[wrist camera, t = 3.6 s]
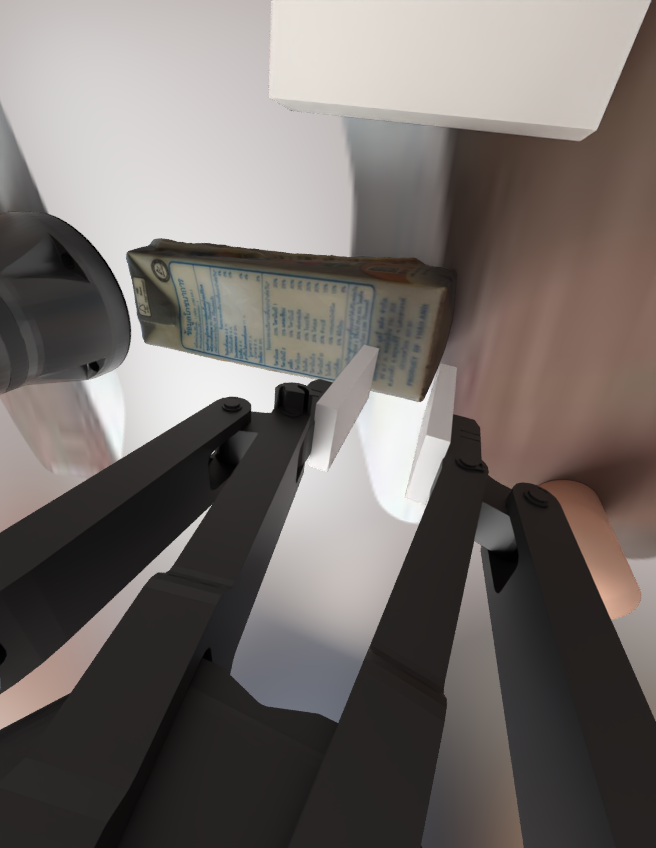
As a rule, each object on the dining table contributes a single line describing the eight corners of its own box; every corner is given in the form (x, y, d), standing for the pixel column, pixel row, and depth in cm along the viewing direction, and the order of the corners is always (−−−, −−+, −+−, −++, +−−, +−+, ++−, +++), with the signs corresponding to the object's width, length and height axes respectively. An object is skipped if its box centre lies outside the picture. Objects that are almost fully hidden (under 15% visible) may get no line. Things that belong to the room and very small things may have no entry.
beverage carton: (211, 318, 30) (202, 230, 27) (441, 362, 25) (467, 261, 22) (139, 347, 24) (115, 236, 20) (428, 413, 19) (462, 282, 15)
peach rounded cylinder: (515, 516, 30) (527, 600, 24) (542, 471, 27) (564, 552, 21) (579, 537, 29) (611, 631, 22) (614, 492, 26) (661, 584, 20)
